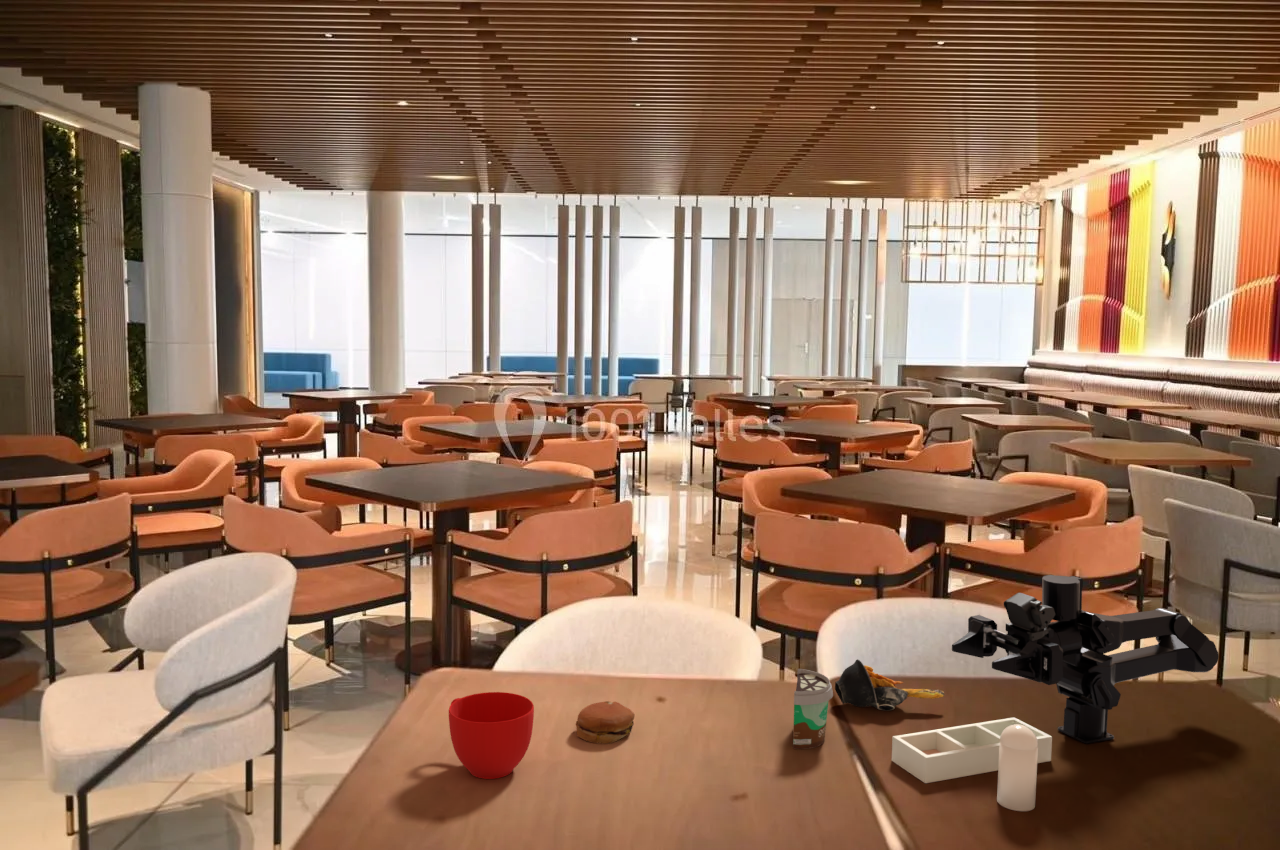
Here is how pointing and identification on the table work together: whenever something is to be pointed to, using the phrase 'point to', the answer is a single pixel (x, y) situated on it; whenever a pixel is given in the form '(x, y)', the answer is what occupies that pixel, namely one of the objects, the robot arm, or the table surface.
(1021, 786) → the cream capsule cylinder
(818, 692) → the food container
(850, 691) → the fried shrimp in bowl
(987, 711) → the table surface
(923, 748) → the compartment tray
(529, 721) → the ceramic cup
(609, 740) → the burger
